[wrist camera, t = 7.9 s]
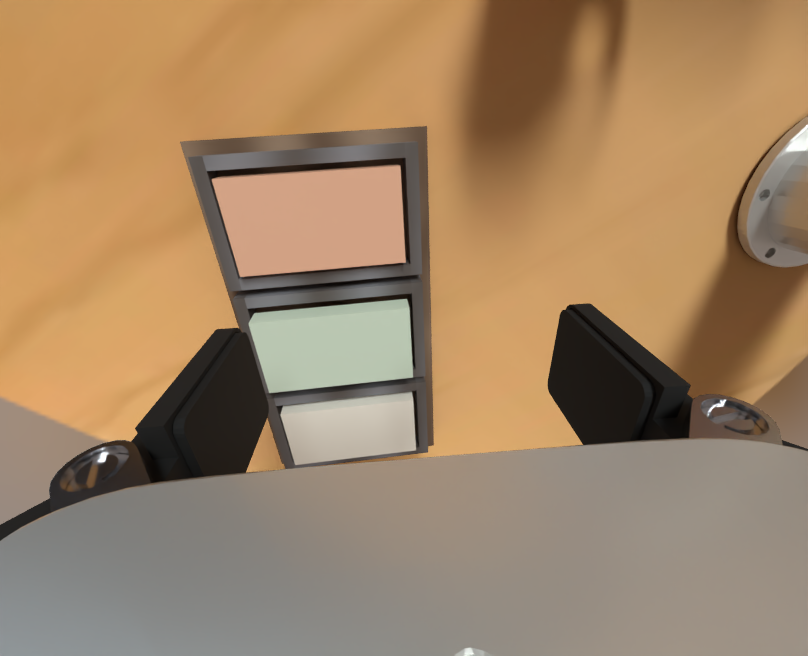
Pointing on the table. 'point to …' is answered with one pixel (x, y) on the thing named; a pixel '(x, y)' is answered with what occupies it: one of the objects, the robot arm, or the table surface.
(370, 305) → the sage tile
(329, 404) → the cream tile
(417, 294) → the dark grey tile board
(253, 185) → the terracotta tile
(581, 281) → the table surface
